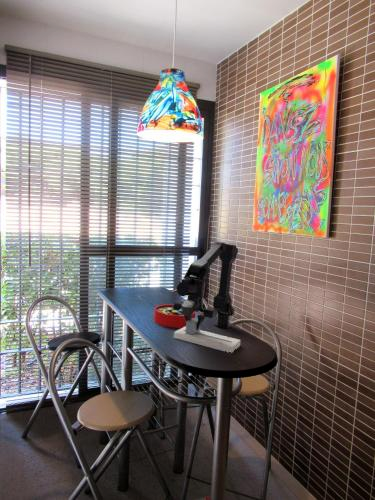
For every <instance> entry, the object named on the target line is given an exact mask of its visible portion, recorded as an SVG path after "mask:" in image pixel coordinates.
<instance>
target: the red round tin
mask: <svg viewBox="0 0 375 500" xmlns="http://www.w3.org/2000/svg"><path fill="white" fill-rule="evenodd" d="M180 311H181V309H180V310H179V311H178V310H173V304H160V305H157V306H155V308H154V313H153V314H154V315H153V322H154V323H156V324H158V325H160V326H163V327H166V328H175V329H176V328H179V329H181V328H183V327H185V326H186V320H185V317H184V315H183V314H182V313H180ZM196 313H197V312H195V311H194V312H193V314H192V315H191V319H192V318H195V319H196Z"/></svg>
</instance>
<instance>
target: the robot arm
mask: <svg viewBox="0 0 375 500" xmlns="http://www.w3.org/2000/svg"><path fill="white" fill-rule="evenodd" d="M238 253H239V249H238V247H237V246H236V244H229V243H225V242H224V241H223V242H221V241H215V242H214V243H213V245H212V247H210V249H208V251H206V253H205V254H204V255H203V256H202V257H201V258H199V259H196V260H194V261H193V262H191V263H190V265H189V266H188V269H187V270H186V272H185V274H184V276H183V278H181V282H179V283H178V284H177V286H176V292H177V294H178V295H179V296H180V297H186V296H187V298H186V300H184V301H181V300H178V301H176V302H174V303H172V305H173V310H178V311H179V310H180V309H181V311H180V313H182V314H183V315H184V317H185V320H186V321H188V320H190V319H191V315H192V314H193V312H194V311H195V312H196V313H199V314H198V315H196V316H197V319H198V322H197V330H199V328H200V329H201V327H200V326H202V324H203V322H204V321H205V319H206V318H207V319H208V318H209V319H213V318H215V317H216V316H217V319H216V323H215V324H214V325H213V326H214V327H216V328H217V327H218V328H221V329H228V328H230V327H231V326H232V324H231V323H230V317H234V314H235V310H236V309H235V308H234V306H233V304H232V297H231V295H230V288H231V279H232V278H231V277H232V270H233V263H234V262H235V261H236V259H237V256H238ZM218 258H219V259H220V262H221V266H220V267H221V269H220V276H219V277H220V278H219V287H218V292H217V294H216V295H214V297H213V303H212V307H207V308H204V304H203V298H204V297H205V295H204V286H205V283H207V282H208V280H207V279H206V277H207V276H208V274H209V273H210V267H211V266H212V265H213V263H214V262H215V261H216V260H217V259H218Z"/></svg>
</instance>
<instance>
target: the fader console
mask: <svg viewBox="0 0 375 500" xmlns="http://www.w3.org/2000/svg"><path fill="white" fill-rule="evenodd" d="M185 332H186V326H185V327H183V328H179V329H177V330H176V331H174V333H173V339H177V340H181V341H184V342H188V343H193V344H195V345H196V344H197V345H200V346H203V347H207V348H210V349H214V350H218V351H222V352H225V351H226V353H229V352H231V353H230V354H232V353H234V350H235V349H236V350H237V349H238V348H239V347H240V346H241V339H237V338H233V337H230V336H225V335H222V334H217V333H214V332H210V331H206V330H201V329H200V332H198V333H196V334H194V335H193V334H189V333H185ZM236 350H235V351H236Z"/></svg>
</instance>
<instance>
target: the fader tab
mask: <svg viewBox="0 0 375 500" xmlns="http://www.w3.org/2000/svg"><path fill="white" fill-rule="evenodd" d="M197 322H198V318H196V317H195V318H192V319H190V320H188V321H186V332H185V333H189V334H193V335H194V334H196V333H198V332H200V330H201V326H202V325H201V326H200V328H199V330H197Z"/></svg>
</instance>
